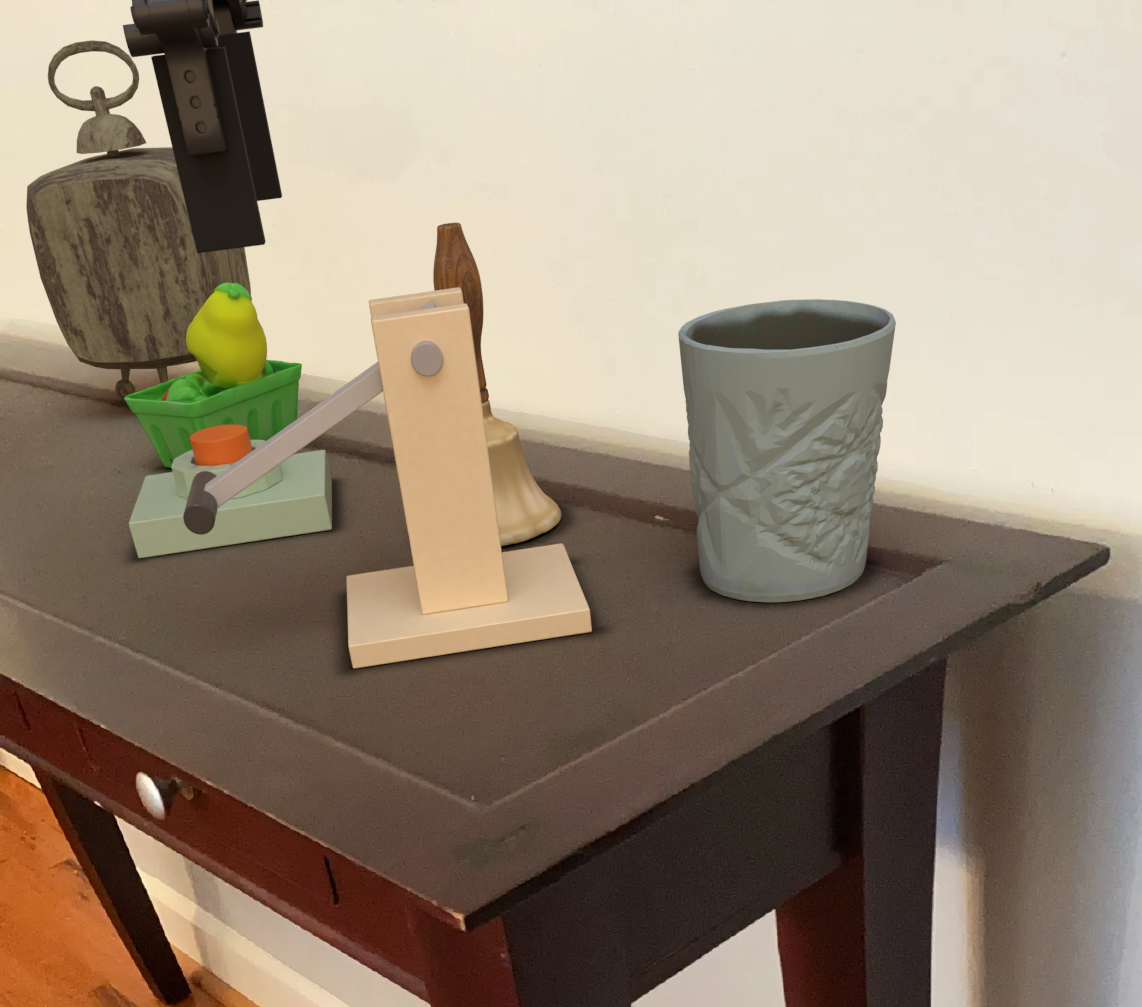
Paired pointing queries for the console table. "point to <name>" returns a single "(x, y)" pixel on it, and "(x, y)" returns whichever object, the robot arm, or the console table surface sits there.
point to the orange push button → (220, 445)
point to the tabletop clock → (121, 242)
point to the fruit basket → (221, 380)
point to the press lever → (277, 449)
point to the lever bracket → (449, 508)
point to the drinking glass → (785, 442)
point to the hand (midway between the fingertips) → (243, 223)
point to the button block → (234, 505)
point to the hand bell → (513, 484)
